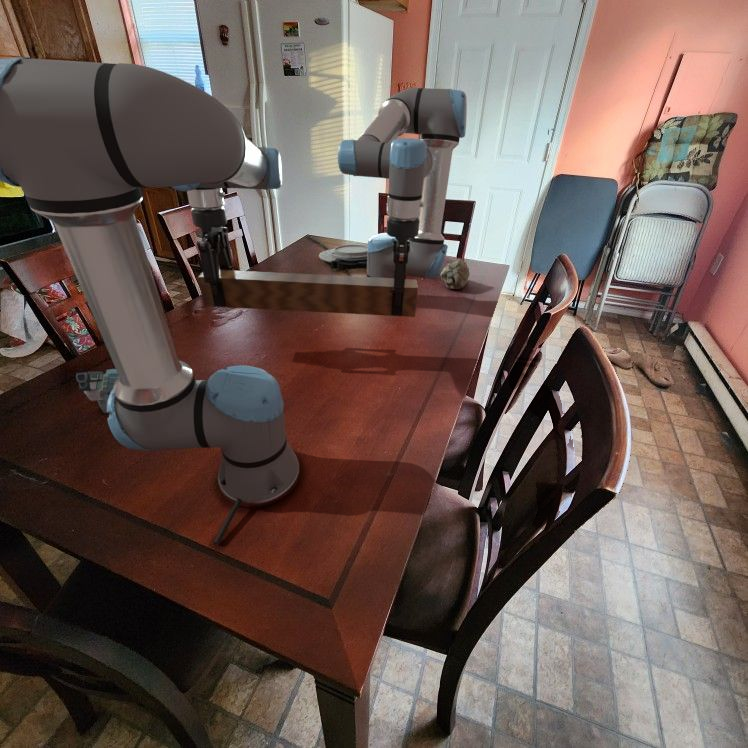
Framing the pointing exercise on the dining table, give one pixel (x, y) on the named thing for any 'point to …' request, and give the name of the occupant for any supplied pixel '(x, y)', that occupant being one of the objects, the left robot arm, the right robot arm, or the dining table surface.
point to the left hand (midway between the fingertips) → (224, 300)
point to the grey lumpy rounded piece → (455, 274)
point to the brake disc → (346, 257)
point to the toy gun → (97, 385)
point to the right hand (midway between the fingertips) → (396, 309)
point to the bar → (310, 292)
